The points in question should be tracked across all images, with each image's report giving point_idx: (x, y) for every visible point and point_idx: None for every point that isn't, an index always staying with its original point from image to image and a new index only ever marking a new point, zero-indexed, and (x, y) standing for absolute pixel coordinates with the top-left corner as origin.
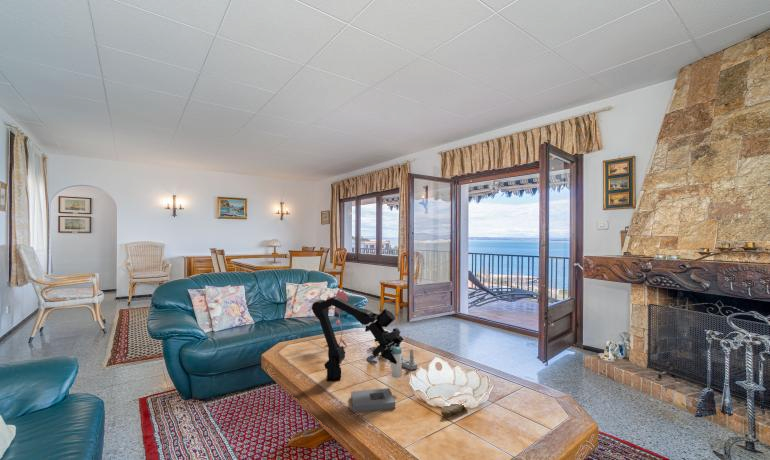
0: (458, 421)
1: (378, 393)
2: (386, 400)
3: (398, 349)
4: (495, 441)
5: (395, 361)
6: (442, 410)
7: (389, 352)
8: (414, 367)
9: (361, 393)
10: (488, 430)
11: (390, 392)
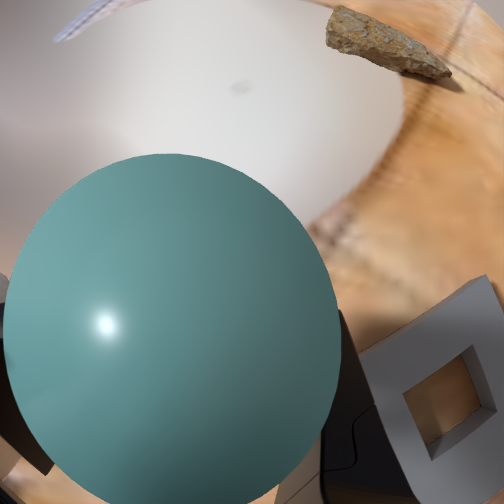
0: (429, 48)
1: (411, 416)
2: (484, 330)
3: (248, 227)
4: (453, 5)
5: (345, 328)
6: (443, 67)
7: (394, 498)
8: (4, 281)
9: (433, 497)
10: (422, 4)
11: (390, 345)
